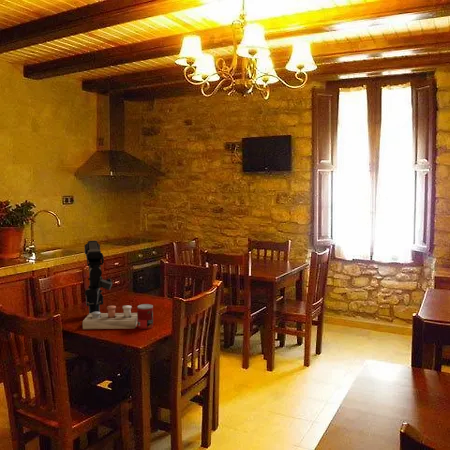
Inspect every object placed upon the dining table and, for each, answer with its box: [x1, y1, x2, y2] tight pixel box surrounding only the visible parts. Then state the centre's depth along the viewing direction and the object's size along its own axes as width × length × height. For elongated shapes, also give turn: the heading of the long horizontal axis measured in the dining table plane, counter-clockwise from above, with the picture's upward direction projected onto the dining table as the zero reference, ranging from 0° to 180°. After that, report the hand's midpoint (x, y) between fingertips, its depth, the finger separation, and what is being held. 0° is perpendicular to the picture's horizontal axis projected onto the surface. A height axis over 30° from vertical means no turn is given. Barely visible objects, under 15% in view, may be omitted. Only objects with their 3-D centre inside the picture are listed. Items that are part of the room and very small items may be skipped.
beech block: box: [82, 312, 138, 330], centre depth 235 cm, size 14×26×4 cm, turn 92°
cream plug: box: [122, 304, 133, 318], centre depth 235 cm, size 5×5×6 cm
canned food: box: [136, 303, 154, 330], centre depth 230 cm, size 8×8×11 cm
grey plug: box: [91, 311, 102, 318], centre depth 234 cm, size 5×5×6 cm
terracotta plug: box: [106, 305, 117, 318], centre depth 234 cm, size 5×5×6 cm
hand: (95, 305), depth 233 cm, fingers closed
